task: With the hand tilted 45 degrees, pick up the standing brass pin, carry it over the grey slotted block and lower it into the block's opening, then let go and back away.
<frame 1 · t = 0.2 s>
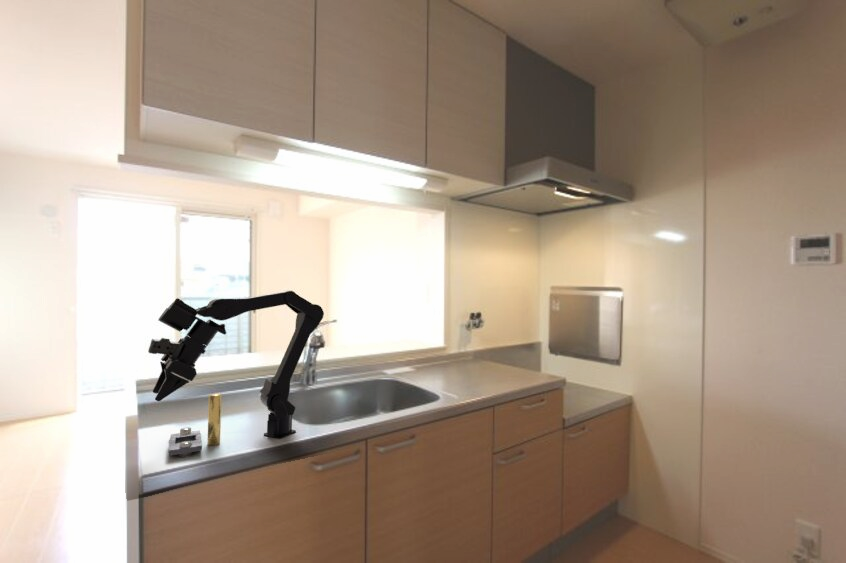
hand: (155, 396, 98), 15 cm above the counter, tool tilted 35°, fingers open, 9 cm apart
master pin: (213, 444, 107), on the counter
grey slotted block: (185, 448, 104), on the counter
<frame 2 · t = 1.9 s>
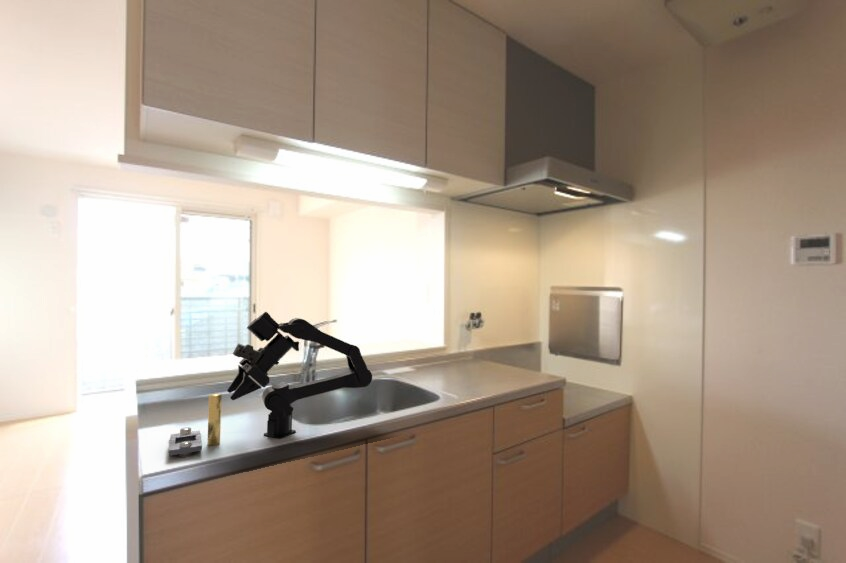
hand: (229, 395, 109), 12 cm above the counter, tool tilted 45°, fingers open, 9 cm apart
nothing on the counter moved.
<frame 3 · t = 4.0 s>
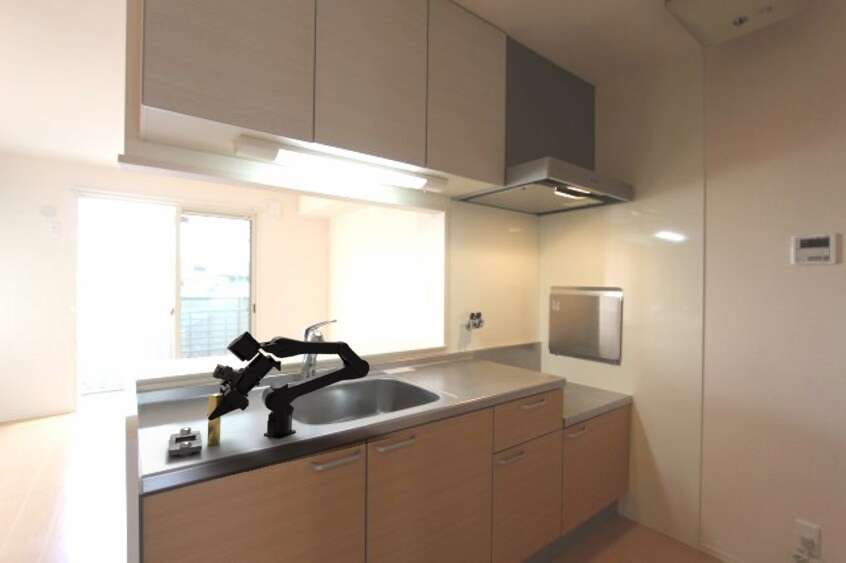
hand: (208, 417, 107), 7 cm above the counter, tool tilted 45°, fingers closed on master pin, 3 cm apart
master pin: (213, 444, 107), on the counter, touching gripper
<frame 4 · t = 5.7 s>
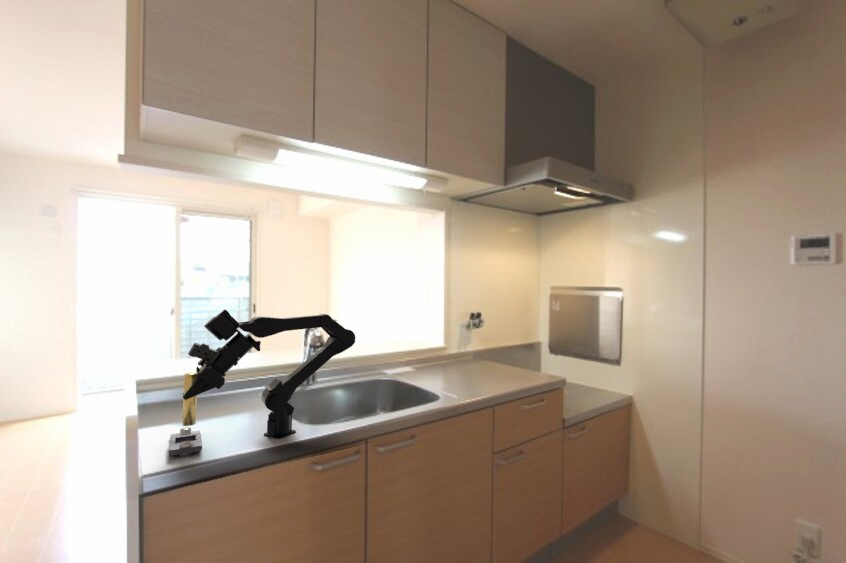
hand: (183, 397, 104), 13 cm above the counter, tool tilted 45°, fingers closed on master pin, 3 cm apart
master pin: (189, 424, 104), point 6 cm above the counter, touching gripper
when the fingers open (8 cm above the counter, at t = 7.8 s): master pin drops 1 cm, resting in grey slotted block.
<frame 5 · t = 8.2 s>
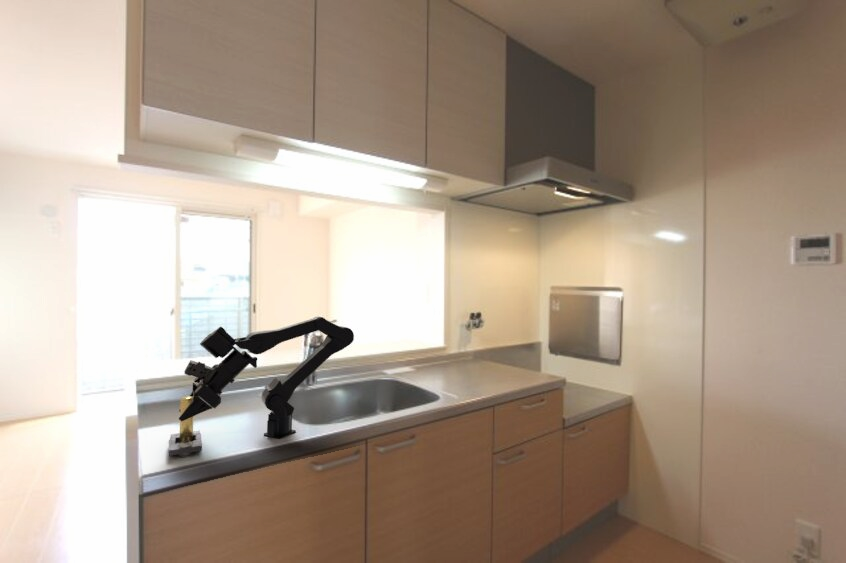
hand: (180, 415, 103), 9 cm above the counter, tool tilted 45°, fingers open, 8 cm apart
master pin: (185, 448, 104), resting in grey slotted block
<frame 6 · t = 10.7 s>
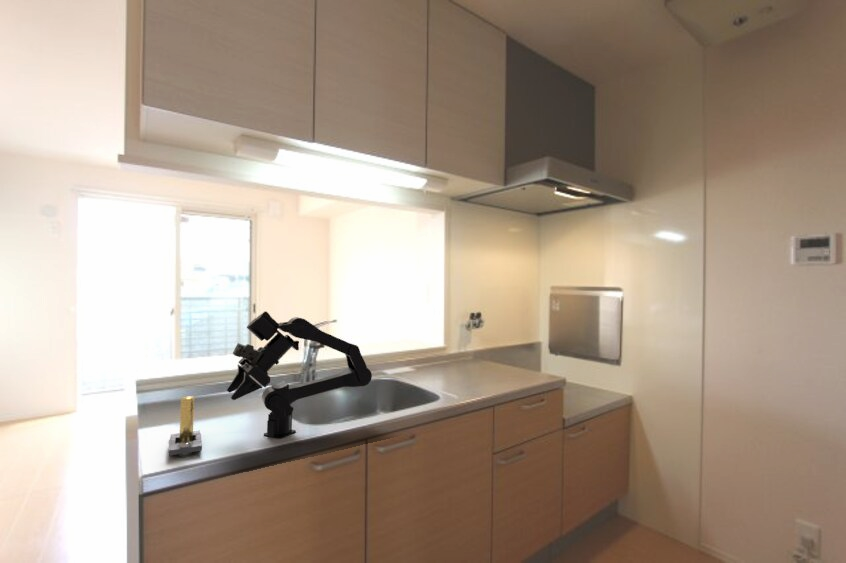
hand: (230, 395, 109), 13 cm above the counter, tool tilted 45°, fingers open, 9 cm apart
nothing on the counter moved.
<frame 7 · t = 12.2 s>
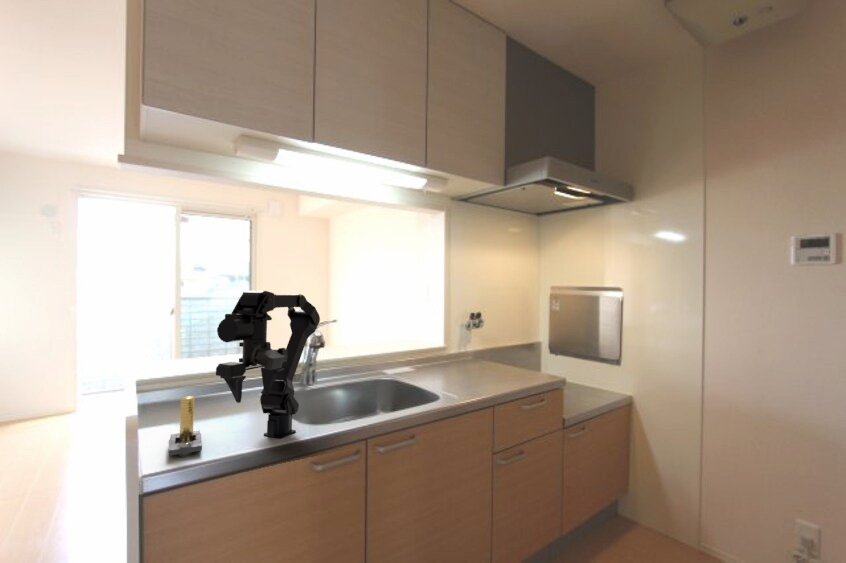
hand: (253, 398, 105), 13 cm above the counter, tool pointing down, fingers open, 9 cm apart
nothing on the counter moved.
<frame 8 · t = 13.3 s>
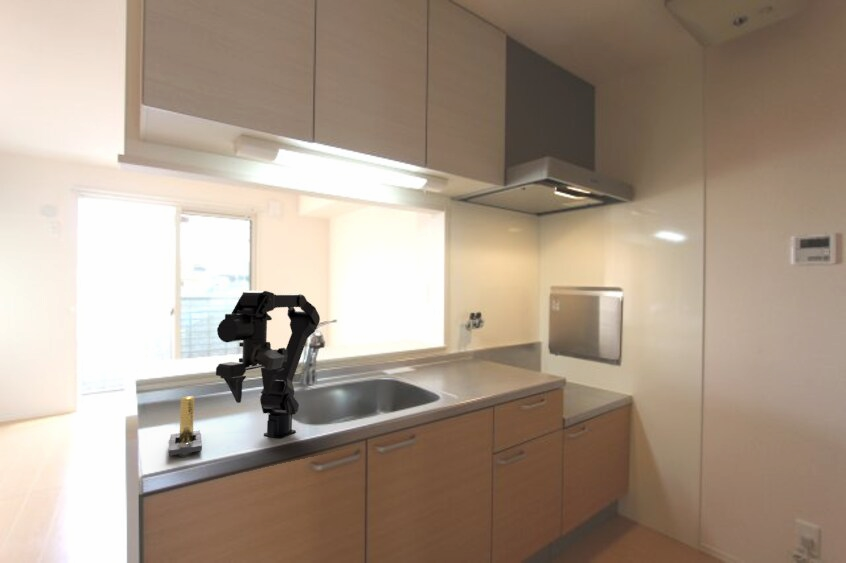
hand: (253, 398, 105), 13 cm above the counter, tool pointing down, fingers open, 9 cm apart
nothing on the counter moved.
at the end: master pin 0.1 cm from the grey slotted block (horizontally); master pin resting in grey slotted block; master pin tilted 0° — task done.
